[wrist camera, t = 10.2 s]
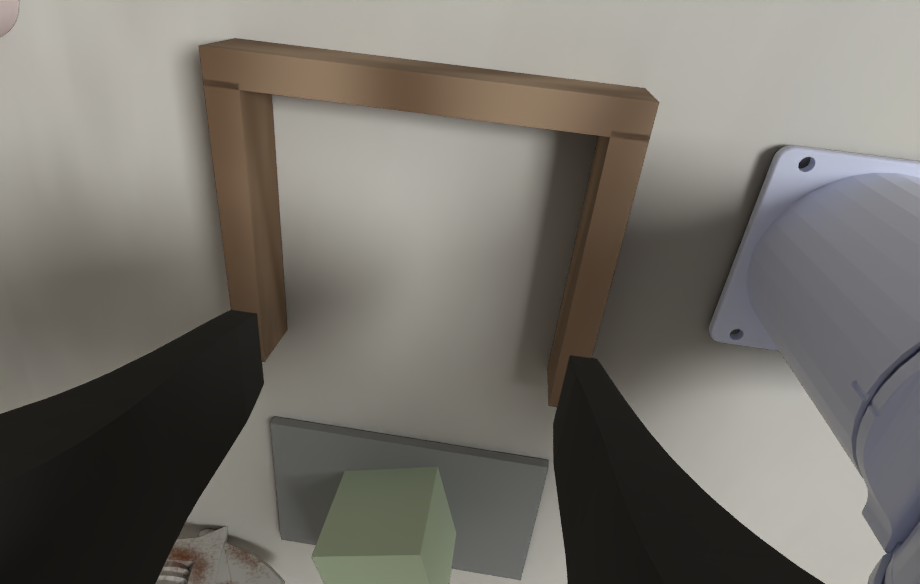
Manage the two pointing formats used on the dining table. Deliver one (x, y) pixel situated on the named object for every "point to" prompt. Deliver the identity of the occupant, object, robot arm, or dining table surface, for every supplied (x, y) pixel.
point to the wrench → (214, 562)
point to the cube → (387, 529)
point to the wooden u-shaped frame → (422, 91)
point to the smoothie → (8, 14)
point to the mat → (461, 468)
